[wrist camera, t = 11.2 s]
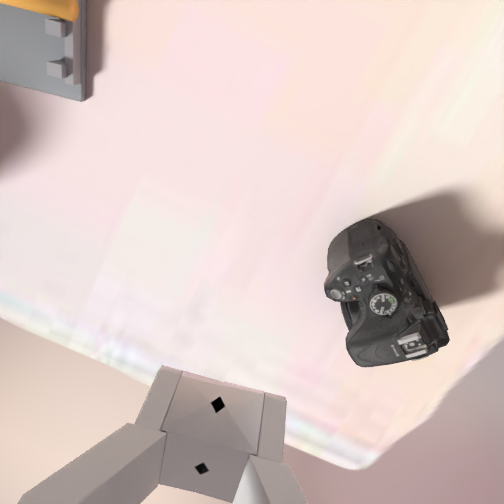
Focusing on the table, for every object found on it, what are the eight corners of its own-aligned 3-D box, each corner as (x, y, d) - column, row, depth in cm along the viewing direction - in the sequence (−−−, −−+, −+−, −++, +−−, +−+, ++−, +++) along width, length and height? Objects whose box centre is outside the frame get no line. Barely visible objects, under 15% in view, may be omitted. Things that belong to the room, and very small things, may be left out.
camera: (297, 271, 42) (293, 336, 33) (364, 201, 37) (379, 254, 28) (393, 338, 44) (412, 413, 36) (467, 279, 40) (510, 350, 31)
